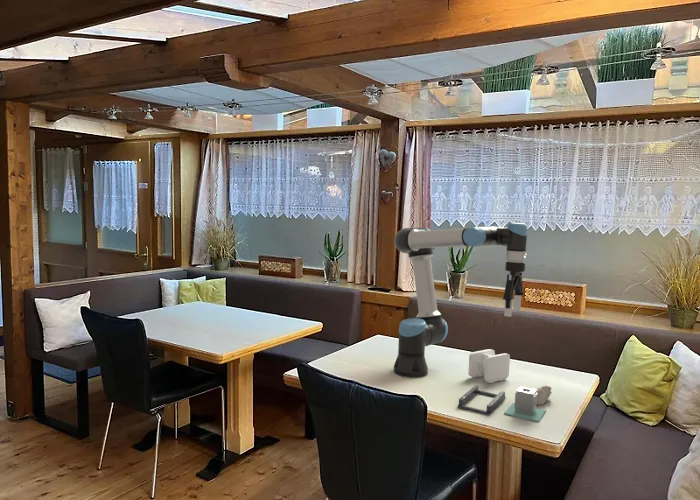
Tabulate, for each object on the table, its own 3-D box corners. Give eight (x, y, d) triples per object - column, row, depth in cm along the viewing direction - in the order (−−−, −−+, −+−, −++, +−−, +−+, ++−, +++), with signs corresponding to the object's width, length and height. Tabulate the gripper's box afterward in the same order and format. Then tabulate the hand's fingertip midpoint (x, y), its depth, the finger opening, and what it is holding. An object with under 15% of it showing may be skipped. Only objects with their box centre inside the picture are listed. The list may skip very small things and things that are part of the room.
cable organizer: (485, 385, 221) (487, 358, 220) (466, 378, 230) (468, 351, 229) (509, 379, 230) (510, 353, 229) (490, 372, 238) (491, 347, 237)
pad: (504, 414, 190) (504, 412, 190) (512, 404, 201) (513, 402, 200) (538, 422, 184) (538, 420, 184) (545, 411, 194) (545, 410, 194)
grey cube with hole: (513, 412, 191) (515, 390, 191) (517, 406, 197) (519, 385, 196) (532, 416, 188) (534, 394, 187) (536, 411, 193) (538, 389, 192)
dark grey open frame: (457, 407, 195) (457, 399, 195) (475, 392, 212) (475, 384, 212) (489, 415, 189) (490, 407, 189) (505, 398, 206) (505, 390, 206)
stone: (522, 408, 206) (517, 389, 202) (539, 388, 213) (534, 369, 209) (540, 415, 200) (535, 395, 197) (556, 394, 207) (552, 374, 203)
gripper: (517, 264, 199) (513, 320, 201) (532, 259, 220) (529, 310, 222) (497, 263, 203) (494, 317, 205) (514, 258, 224) (511, 307, 226)
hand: (512, 313), depth 214 cm, fingers open, 13 cm apart
